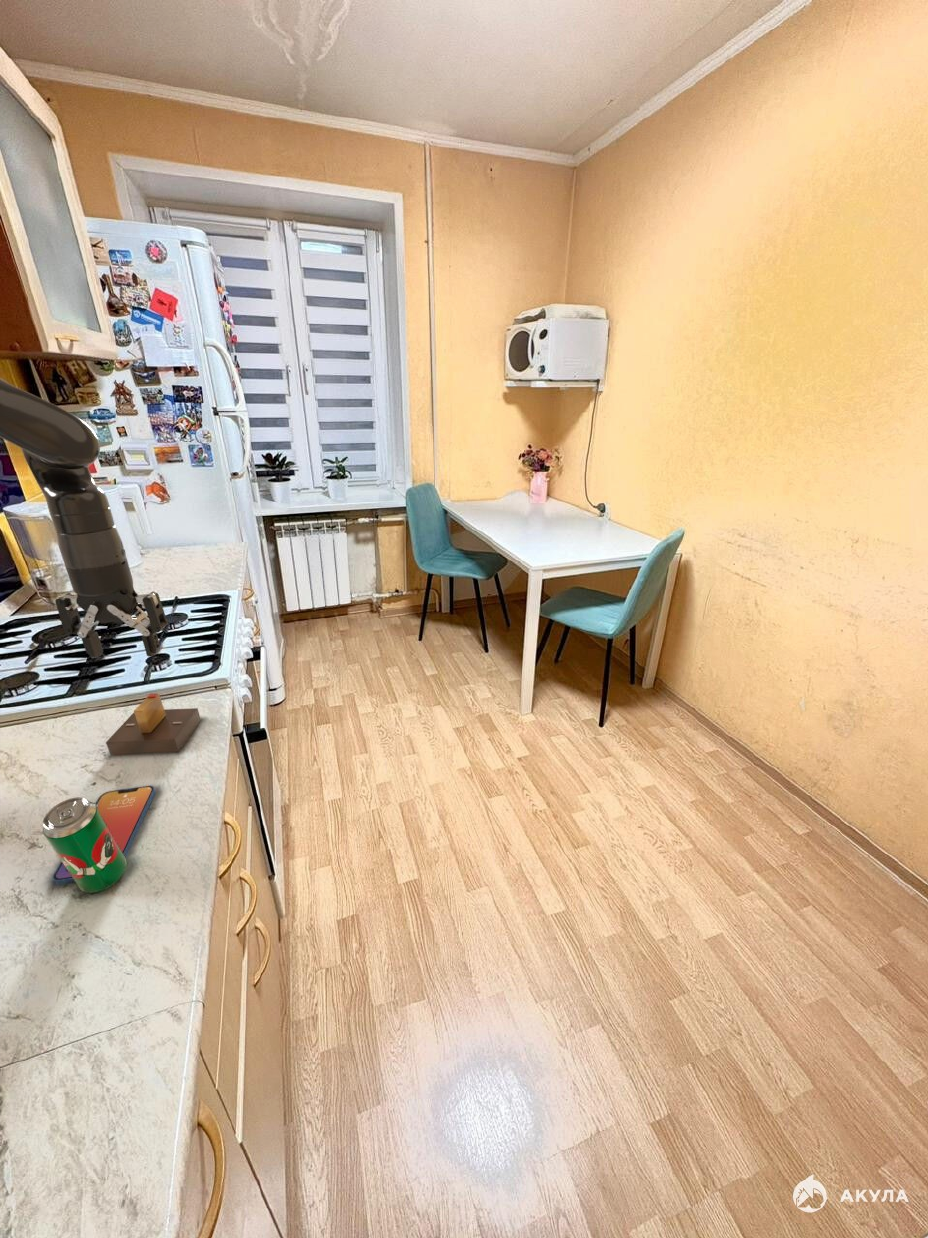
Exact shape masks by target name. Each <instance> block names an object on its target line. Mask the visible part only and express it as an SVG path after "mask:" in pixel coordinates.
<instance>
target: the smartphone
mask: <svg viewBox="0 0 928 1238" xmlns="http://www.w3.org/2000/svg"><path fill="white" fill-rule="evenodd" d="M155 795H156V790H155V787H154V786H153V785H145V786H136V787H130V788H123V789H116V790H109V791H106V792H104V793H102V794H101V795H100V796H99V797H98V799H97V800H96V802H95V803H94V804H95V805H96V806H97V808H98V810H99V811H100V813H101V815H102V817H103V819H104V821H105V822H106V824H107V826H108V828H109V830H110V831H111V833H112V835H113V837H114V839H115V840H116V842H117V844H118V846H119V848H120V849H121V851H122V853H123V855H124V857H125V858H126V857H127V856H128V853H129V851H130V849H131V847H132V845H133V843H134V840H135V838H136V837H137V835H138V832H139V830H140V828H141V825H142V823H143V821H144V819H145V817H146V815H147V812H148V810H149V808H150V806H151V804H152V802H153V799H154V797H155ZM52 879H53V882H54V884H56V885H64V884H70V883H76V882H75V880H74V879H73V877H72V876H71V874H70V873H69V871H68V870H67V868H66V867H65V865H64V864H63V862H62V861H61V860H60V863H59V865H58V867H57V868H56V870H55V872H54V873H53V876H52Z"/></svg>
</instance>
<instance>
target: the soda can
mask: <svg viewBox="0 0 928 1238" xmlns="http://www.w3.org/2000/svg"><path fill="white" fill-rule="evenodd" d="M95 804H96V803H95V802H93V801H92V800H91V801H90V800H89V799H87V798H85V797H81V796H79V797H71V798H67V799H65V800H63V801H61V802H59V803H57V804H56V805H54V806H53V807H52V808H51V809H49V811H48V812H47V813H46V814H45V815H44V818H43V820H42V824H43V825H42V826H43V827H42V834H43V836H44V837H45V839H46V840H47V842H48V843H49V845H50V846H51V847H52V849H53V850H54V852H55V853H56V855H57V856H58V858H59V859H60V862H61V861H62V862H63V864H64V865H65V867H66V868H67V870H68V871H69V873H70V874H71V876H72V877H73V879H74V880H75V882H74V883H76V885H77V886H78V888H79V890H81V891H82V892H83V893H87V894H94V893H99V892H102V891H104V890H106V889H109V888H111V887H112V886H113V885H115V884H116V883H117V882H118V881H119V880H120V879H121V877H123V875H124V873H125V871H126V869H127V863H128V862H127V859H126V857H124V855H123V853H122V851H121V849H120V848H119V846H118V844H117V842H116V840H115V839H114V837H113V835H112V833H111V831H110V830H109V828H108V826H107V824H106V822H105V821H104V819H103V817H102V815H101V813H100V811H99V810H98V808H97V806H96V805H95Z"/></svg>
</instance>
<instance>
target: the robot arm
mask: <svg viewBox="0 0 928 1238" xmlns="http://www.w3.org/2000/svg"><path fill="white" fill-rule="evenodd" d="M0 439H3V440H4V441H7V442H9V443H10V444H12V445H15V446H17V447H18V448H20V449H21V452H22V455H23V457H24V460H25V462H26V463H27V466H28V467H29V470H30V471H31V474H32V475H33V476H32V477H34V479H35V481H36V483H37V485H38V487H39V489H40V490H41V492H42V494H43V497H44V498H45V502H46V505H47V510H48V512H49V516H50V519H51V521H52V524H53V527H54V531H55V533H56V537H57V544H58V549H59V553H60V556H61V558H62V561H63V563H64V567H65V569H66V573H67V576H68V578H69V582H70V584H71V587H72V590H73V592H74V593H75V594H76V595H74V594H73V593H72V592H67V593H65V594H64V595H61V596H60V597H58V598H56V599H55V605H56V608H57V613H58V615H59V619H60V623H61V627H62V629H63V632H64V633H65V634H66V635H72V634H73V635H76V636H78V637H79V638H80V639H81V641H82V645H83V647H84V650H85V653H86V654H87V655H89V657H90V658H91V659H97V658H99V657H100V656H102V654H104V648H103V646H102V643H101V642H102V641H101V640H100V636H99V633H98V631H95V630H96V629H97V627H98V625H99V623H100V624H108V623H114V624H123V623H124V624H125V625H127V626H128V627H129V628H134V629H135V630H136V631H137V632H138V633H140V634H141V640H142V643H143V646H144V650H145V654H146V656H147V657H155V655H156V654H157V653H158V652H159V650H160V649H161V645H160V641H159V636H158V633H160V632H161V631H162V630H163V629H164V628H165V627H166V626H168V623H169V622H168V619H167V615H166V614H165V610H164V607H163V604H162V601H161V598H160V596H159V593H158V592H157V591H154V590H153V591H151V592H149V593H146V594H144V593H143V594H138V593H137V591H136V590H135V589H134V579H133V575H132V573H131V569H130V565H129V562H128V558H127V554H126V553H127V552H126V550H125V548H124V543H123V539H122V538H121V535H120V533H119V531H118V529H117V527H116V523H115V520H114V516H113V513H112V509H111V505H110V502H109V499H108V497H107V495H106V493H105V491H104V490H103V489H102V488H101V487H100V486H99V485H97V483H96V482H95V481H94V478H93V475H92V473H91V471H90V468H89V467H90V466H91V465H93V464H94V463H95V462H96V461H97V459H98V458H99V456H100V453H101V452H100V451H101V446H100V440H99V438H98V436H97V434H96V433H95V431H94V430H93V428H92V427H91V426H90V425H89V424H88V423H87V422H85V421H84V420H82V419H81V418H80V417H78V416H76V415H74V414H73V413H71V412H70V411H67V410H66V409H63V408H61V407H60V406H58V405H56V404H54V403H52V402H50V401H48V400H45V399H43V398H41V397H40V396H37V395H35V394H33V393H30V392H28V391H26V390H24V389H22V388H19V387H17V386H16V385H13V384H11V383H9V382H7V381H6V380H5V379H3V378H1V377H0ZM139 604H140V605H141V607H139V606H138V605H139ZM79 607H80V608H81V609H82V610H83V611H84V612H85V615H84V617H83V619H82V620H81V616H80V612H79ZM142 609H143V610H142ZM144 609H145V611H144ZM133 615H134V616H135V617H133Z"/></svg>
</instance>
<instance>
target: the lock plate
mask: <svg viewBox="0 0 928 1238" xmlns="http://www.w3.org/2000/svg"><path fill="white" fill-rule="evenodd" d="M164 711H165V714H166V716H165V717H164V718H163V719H162V720H161V722H160V723H159V724H158V725H157V726H156V727H155V728H154V729H153V731H152V732H151V733H141V731H140V728H139V725H138V722H137V719H136V716H135V713H134V712H133V713H132V714H130V716H129V717H128V718H127V719H126V720H125V721H124V722H123V723H122V724H121V725H120V726H119V727H118V729H117V730H116V731H115V732H114V733H113V734H112V735H111V736H110V737H109V738H108V740H107V741H105V744H106V747H107V749H108V752H109V755H110V756H127V755H128V756H129V755H130V756H131V755H149V754H151V755H153V754H171V753H172V754H173V753H180V752H181V750H182V748H183V747H184V745H185V744H186V743H187V741H188V740H189V738H190V737H191V735H192V734H193V732H194V731H195V730H196V728H197V727H198V726H199V724H200V723H201V721H202V719H201V715H200V712H199V708H198V707H191V708H171V709H170V708H168V709H164Z"/></svg>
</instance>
